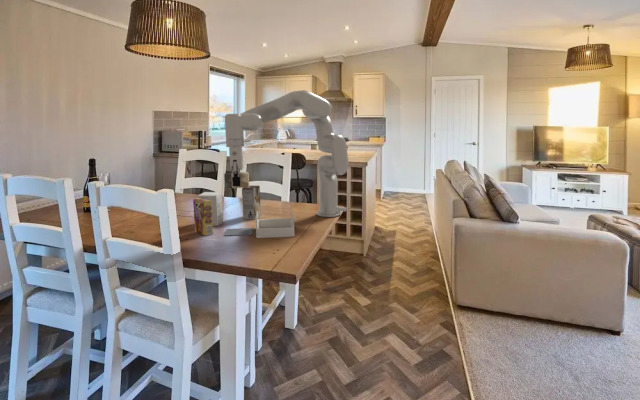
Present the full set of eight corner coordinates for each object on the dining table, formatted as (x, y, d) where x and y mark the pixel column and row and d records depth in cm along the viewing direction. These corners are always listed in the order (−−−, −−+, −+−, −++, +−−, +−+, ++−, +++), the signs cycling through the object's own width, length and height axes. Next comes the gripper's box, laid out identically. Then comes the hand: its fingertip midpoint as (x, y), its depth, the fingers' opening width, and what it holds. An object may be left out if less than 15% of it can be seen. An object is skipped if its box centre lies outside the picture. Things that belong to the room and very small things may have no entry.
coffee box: (249, 214, 204) (248, 185, 201) (261, 215, 203) (260, 185, 199) (242, 219, 195) (241, 188, 192) (254, 219, 194) (253, 188, 191)
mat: (253, 228, 178) (253, 227, 178) (252, 235, 168) (252, 234, 168) (226, 229, 176) (226, 228, 176) (224, 236, 167) (224, 235, 167)
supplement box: (199, 226, 183) (197, 195, 180) (205, 221, 192) (203, 191, 189) (218, 226, 182) (216, 195, 179) (223, 221, 191) (222, 191, 188)
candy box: (213, 234, 170) (211, 200, 167) (205, 236, 167) (202, 201, 164) (203, 230, 176) (201, 197, 173) (194, 232, 173) (192, 199, 170)
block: (249, 185, 171) (248, 172, 170) (248, 187, 166) (247, 173, 165) (226, 186, 170) (225, 172, 169) (224, 188, 165) (224, 174, 164)
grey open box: (292, 226, 182) (291, 209, 180) (294, 236, 166) (294, 218, 164) (257, 227, 180) (257, 211, 178) (256, 237, 164) (255, 219, 162)
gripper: (242, 144, 156) (244, 188, 160) (245, 142, 173) (247, 181, 177) (223, 144, 155) (226, 188, 159) (228, 142, 172) (230, 182, 176)
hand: (237, 184), depth 168 cm, fingers closed on block, 5 cm apart
